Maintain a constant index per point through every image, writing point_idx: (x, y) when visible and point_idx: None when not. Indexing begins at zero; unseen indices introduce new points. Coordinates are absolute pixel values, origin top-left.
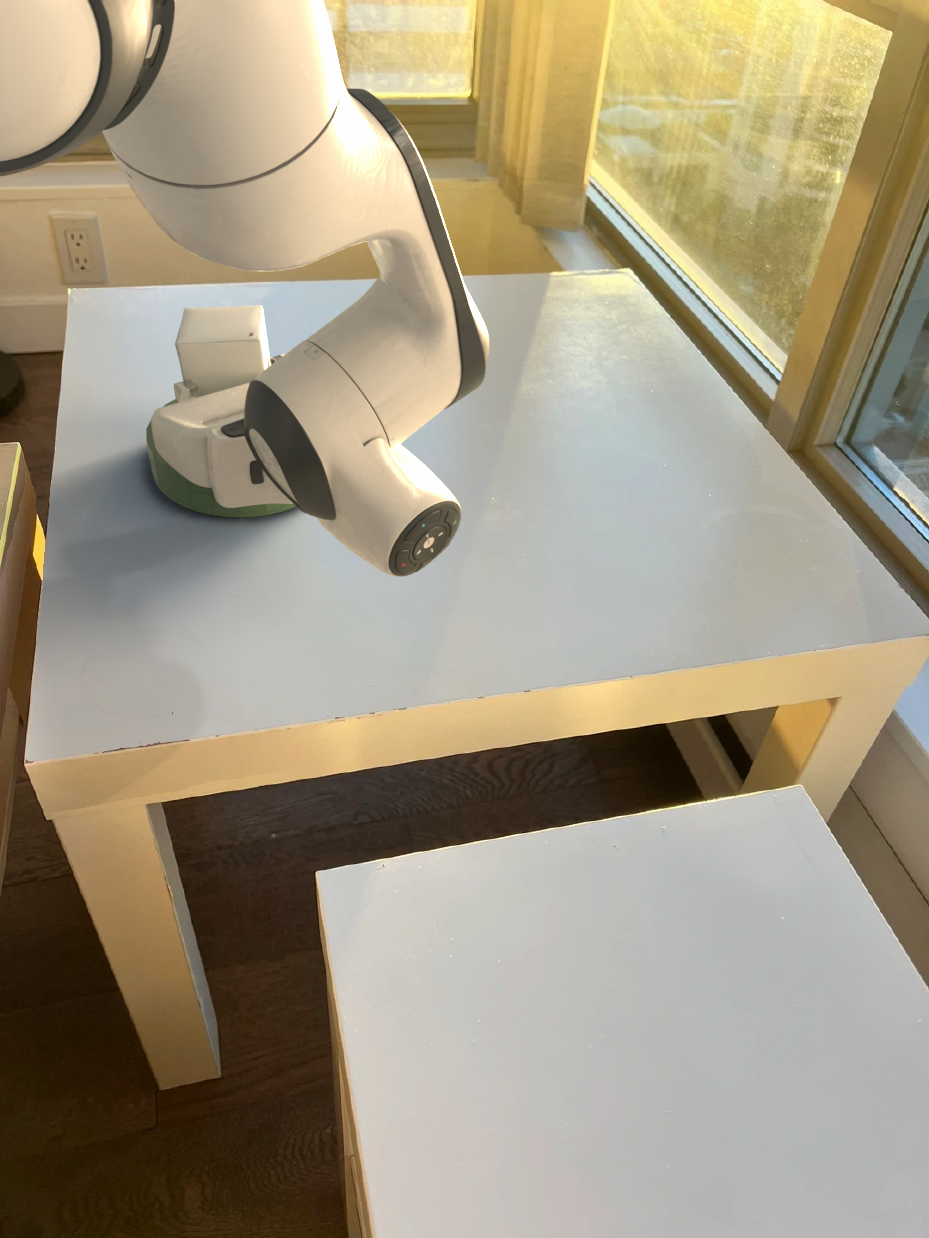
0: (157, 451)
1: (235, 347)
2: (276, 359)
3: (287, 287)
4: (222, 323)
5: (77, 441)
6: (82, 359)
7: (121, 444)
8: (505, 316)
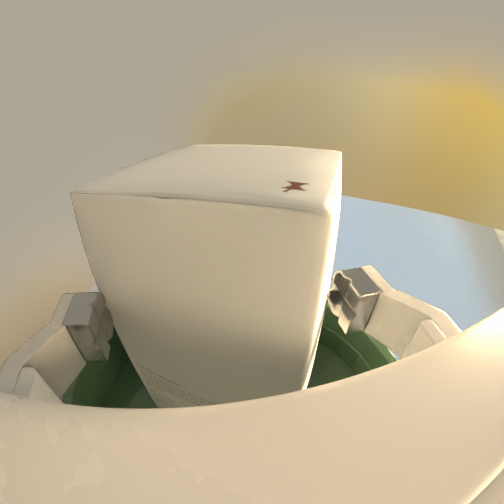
0: (71, 388)
1: (213, 225)
2: (353, 280)
3: (344, 198)
4: (225, 157)
5: None
6: None
7: None
8: (489, 250)
